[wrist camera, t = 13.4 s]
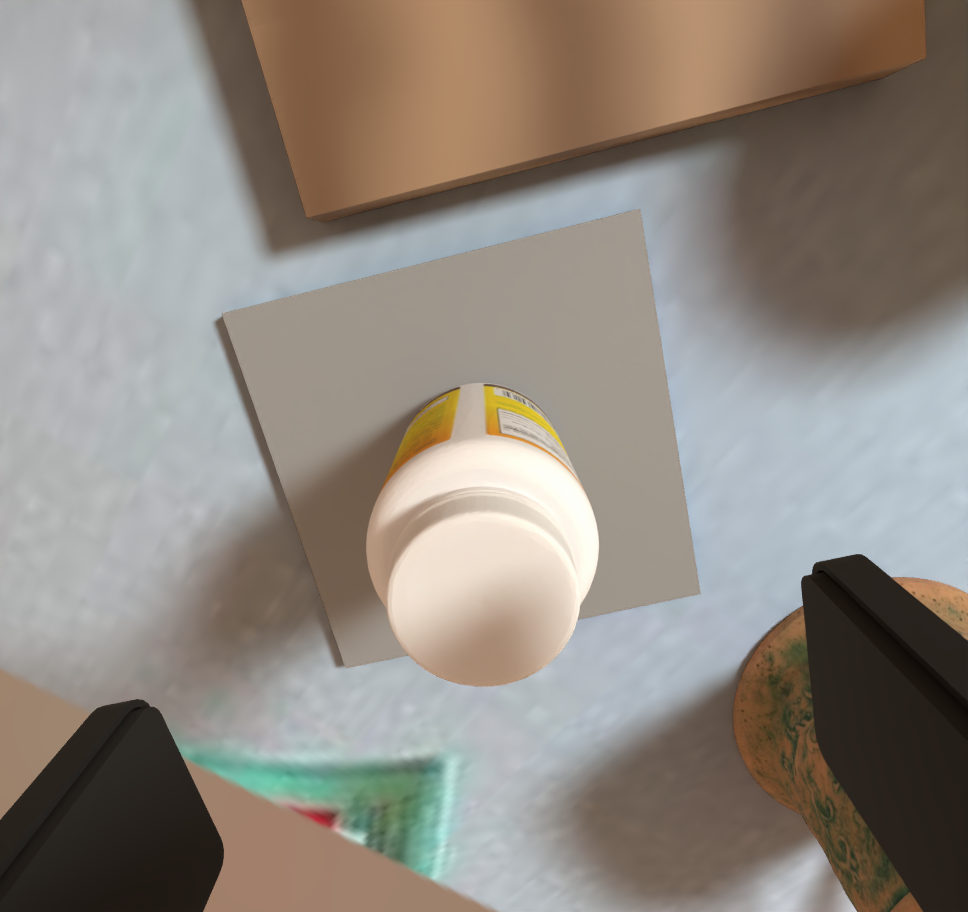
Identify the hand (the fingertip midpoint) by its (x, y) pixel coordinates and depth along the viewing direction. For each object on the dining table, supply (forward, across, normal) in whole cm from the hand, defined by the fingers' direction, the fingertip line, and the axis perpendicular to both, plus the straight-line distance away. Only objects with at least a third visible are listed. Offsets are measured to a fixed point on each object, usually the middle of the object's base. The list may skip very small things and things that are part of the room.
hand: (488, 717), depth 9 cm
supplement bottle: (+14, 0, +1) cm, 14 cm away
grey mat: (+14, +1, +1) cm, 14 cm away
